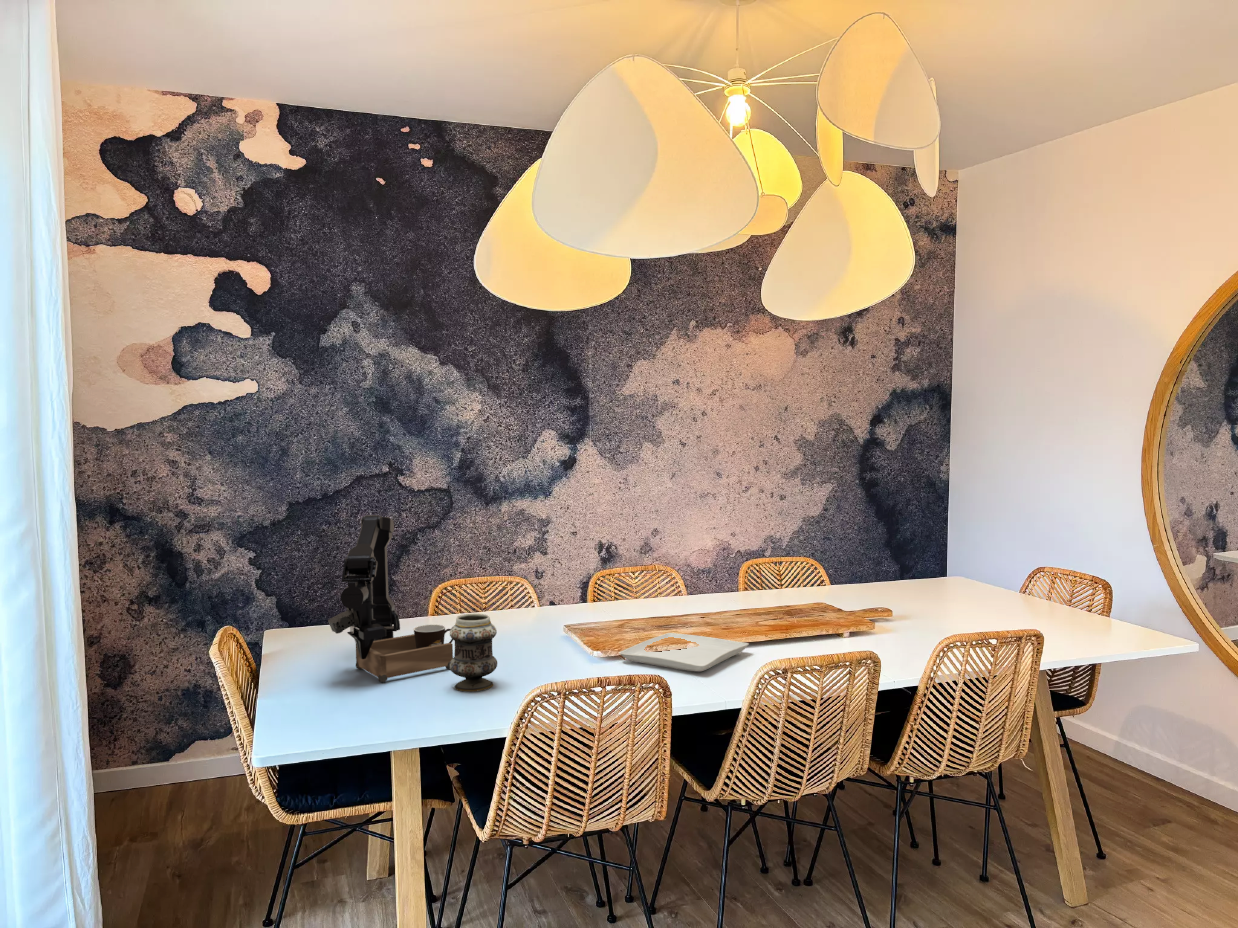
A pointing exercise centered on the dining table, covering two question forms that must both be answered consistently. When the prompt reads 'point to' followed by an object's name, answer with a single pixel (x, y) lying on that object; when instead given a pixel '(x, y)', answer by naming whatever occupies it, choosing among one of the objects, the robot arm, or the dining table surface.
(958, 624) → the dining table surface
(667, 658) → the square plate
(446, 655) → the caster frame
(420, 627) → the coffee mug
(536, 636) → the dining table surface
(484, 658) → the apothecary jar
